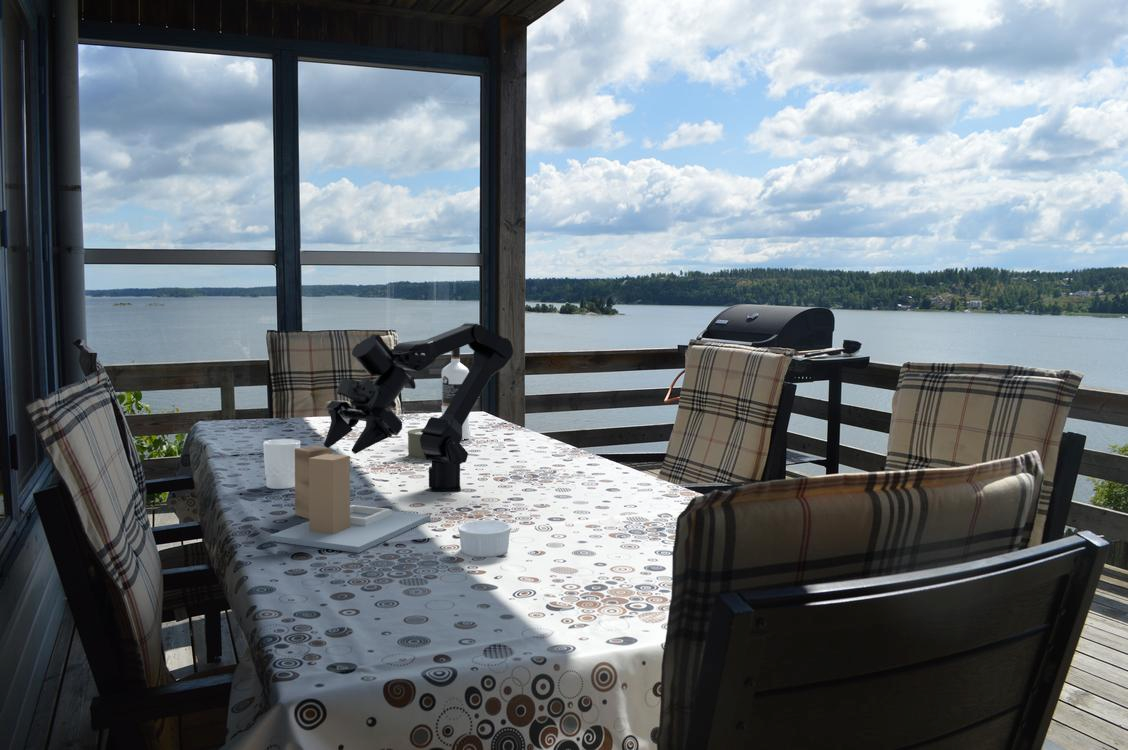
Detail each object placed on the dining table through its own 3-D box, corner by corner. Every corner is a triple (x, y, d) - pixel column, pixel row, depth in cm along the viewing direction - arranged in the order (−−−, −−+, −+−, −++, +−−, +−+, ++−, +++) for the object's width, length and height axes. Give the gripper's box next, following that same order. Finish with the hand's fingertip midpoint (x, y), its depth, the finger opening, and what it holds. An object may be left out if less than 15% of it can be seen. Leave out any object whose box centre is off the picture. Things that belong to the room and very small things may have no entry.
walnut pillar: (317, 510, 174) (317, 445, 173) (332, 514, 171) (331, 448, 170) (295, 514, 170) (294, 448, 169) (309, 519, 167) (309, 451, 166)
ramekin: (489, 562, 142) (490, 535, 141) (447, 553, 146) (447, 527, 146) (521, 549, 149) (521, 524, 149) (479, 541, 154) (479, 517, 154)
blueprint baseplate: (350, 511, 174) (350, 441, 173) (430, 520, 168) (430, 447, 166) (269, 540, 151) (268, 460, 150) (358, 552, 145) (358, 469, 144)
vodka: (475, 439, 267) (476, 340, 264) (448, 442, 261) (449, 341, 259) (461, 435, 274) (461, 339, 272) (434, 437, 269) (434, 339, 266)
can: (461, 455, 239) (461, 430, 238) (432, 462, 229) (432, 436, 228) (427, 451, 245) (427, 426, 245) (398, 457, 235) (398, 431, 235)
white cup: (266, 491, 191) (266, 445, 190) (261, 484, 198) (260, 440, 197) (303, 488, 194) (303, 443, 194) (297, 481, 201) (296, 438, 201)
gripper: (334, 361, 183) (287, 418, 175) (390, 367, 171) (342, 428, 163) (365, 396, 189) (321, 453, 182) (421, 404, 177) (377, 465, 170)
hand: (339, 449), depth 174 cm, fingers open, 9 cm apart
